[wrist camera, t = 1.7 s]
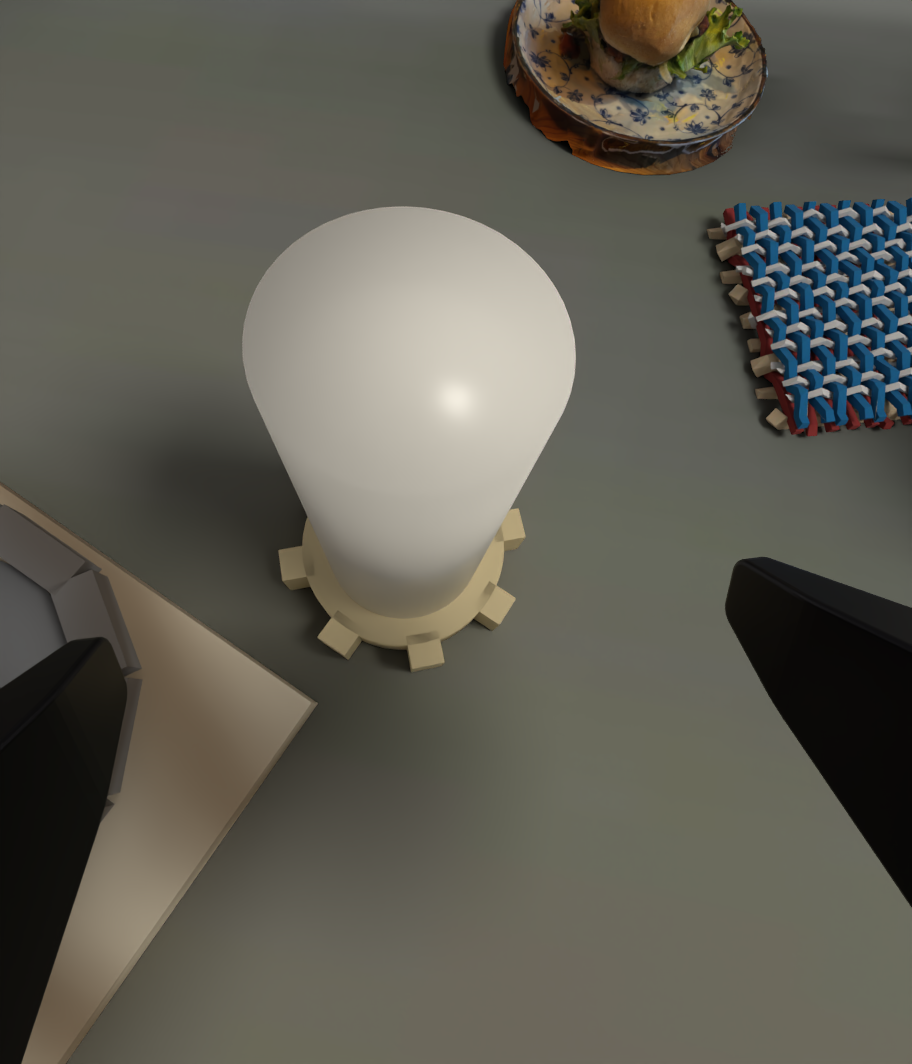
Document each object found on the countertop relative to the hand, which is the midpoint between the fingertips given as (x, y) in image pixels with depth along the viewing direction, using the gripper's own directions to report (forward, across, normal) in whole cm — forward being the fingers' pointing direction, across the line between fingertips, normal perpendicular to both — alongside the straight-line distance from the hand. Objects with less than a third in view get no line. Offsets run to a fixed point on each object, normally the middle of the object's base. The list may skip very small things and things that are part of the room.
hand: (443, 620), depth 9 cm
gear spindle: (+11, 0, +5) cm, 12 cm away
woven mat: (+17, -20, 0) cm, 26 cm away
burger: (+27, -13, -10) cm, 31 cm away
